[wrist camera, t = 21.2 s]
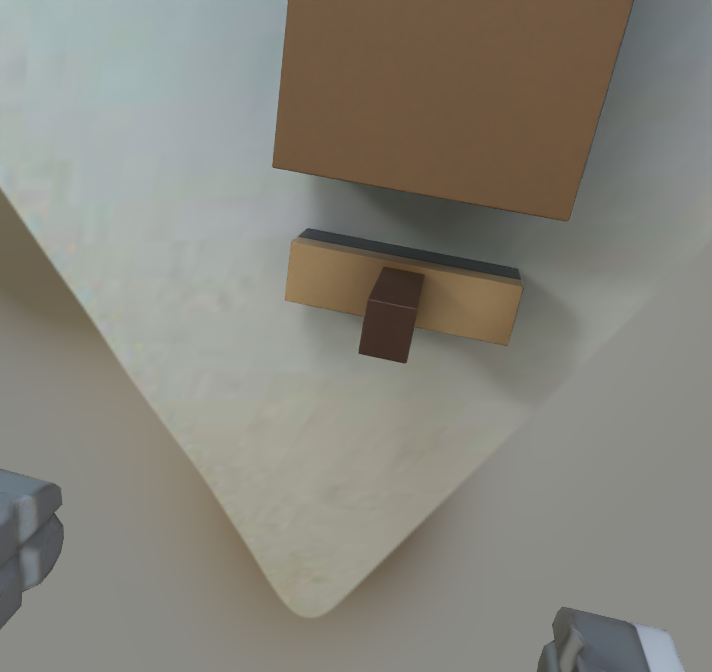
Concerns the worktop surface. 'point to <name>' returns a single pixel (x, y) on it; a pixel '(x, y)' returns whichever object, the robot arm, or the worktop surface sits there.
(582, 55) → the cabinet
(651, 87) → the worktop surface
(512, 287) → the brush
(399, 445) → the worktop surface
